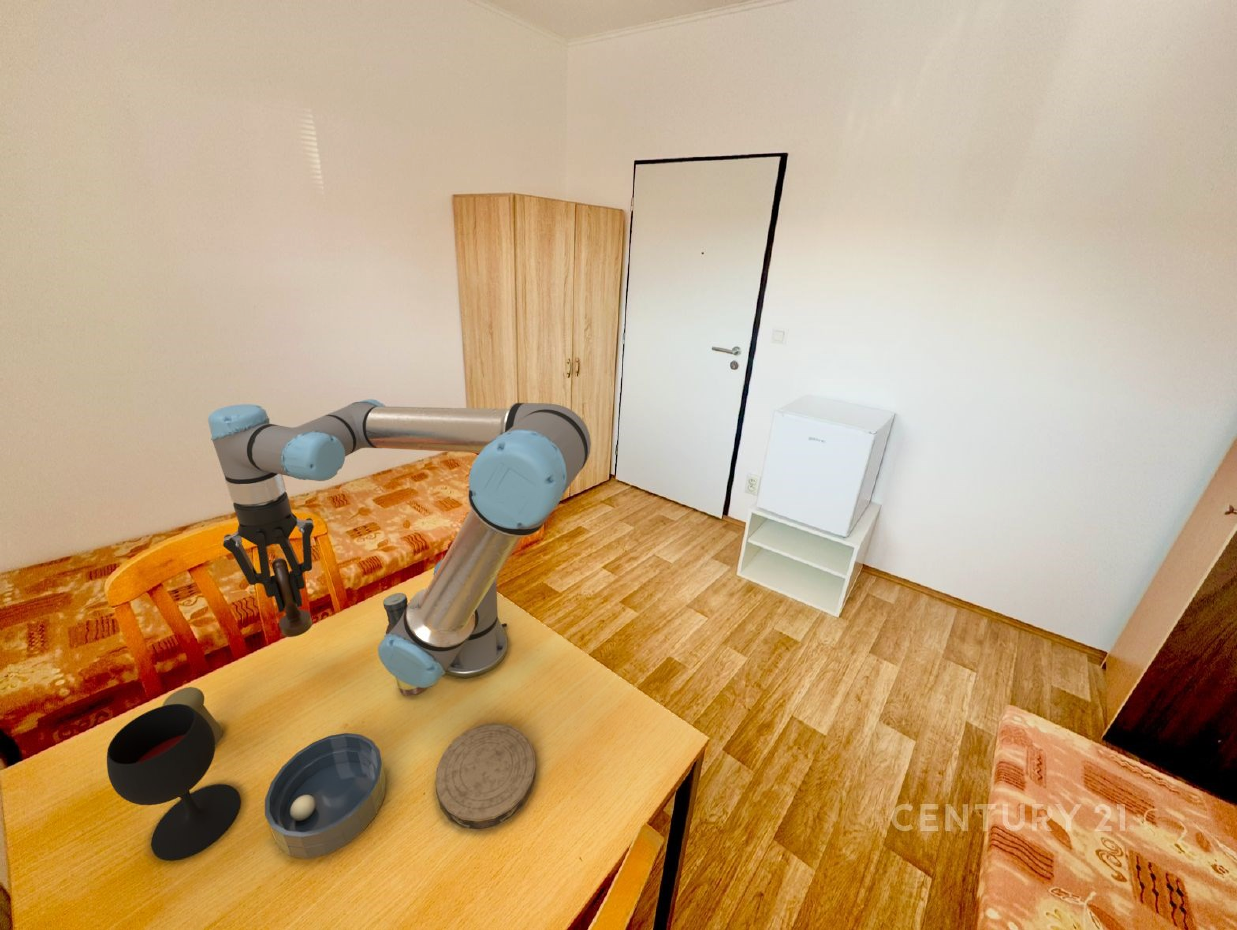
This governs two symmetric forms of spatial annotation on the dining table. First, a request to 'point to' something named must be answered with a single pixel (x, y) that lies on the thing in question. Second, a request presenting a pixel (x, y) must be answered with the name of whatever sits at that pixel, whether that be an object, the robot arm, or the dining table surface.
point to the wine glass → (173, 778)
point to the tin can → (485, 776)
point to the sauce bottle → (394, 610)
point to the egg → (302, 807)
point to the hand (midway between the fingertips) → (290, 604)
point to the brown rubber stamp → (289, 603)
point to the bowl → (326, 794)
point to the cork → (195, 706)
